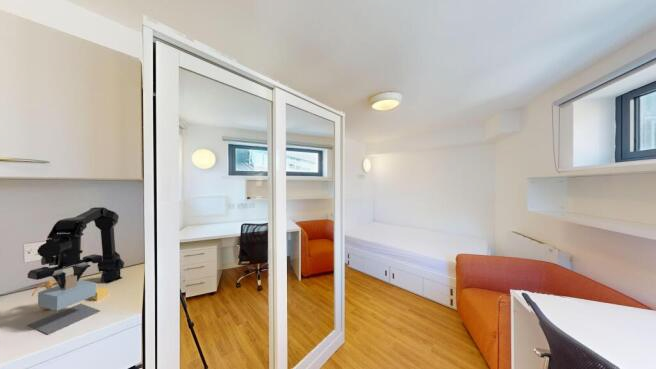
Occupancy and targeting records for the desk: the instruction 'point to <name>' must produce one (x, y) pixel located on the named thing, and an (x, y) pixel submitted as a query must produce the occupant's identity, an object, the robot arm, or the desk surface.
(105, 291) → the cube
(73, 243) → the robot arm
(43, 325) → the mat
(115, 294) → the desk surface
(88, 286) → the cover
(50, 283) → the figurine
